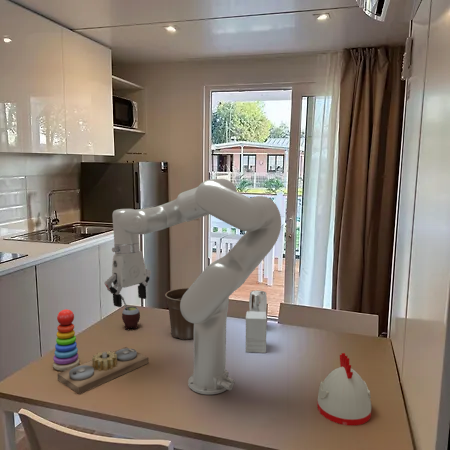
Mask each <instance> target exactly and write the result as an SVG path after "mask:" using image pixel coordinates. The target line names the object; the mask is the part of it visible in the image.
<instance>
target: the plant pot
mask: <svg viewBox="0 0 450 450" xmlns="http://www.w3.org/2000/svg"><path fill="white" fill-rule="evenodd" d="M188 289H189V287H181V288H180V287H179V288H175V289H172V290H169V291H167V292H166V293H165V295H164V296H165V298H166V303H167V307H168V312H169V321H170V322H169V324H170V334H171V336H172V337H173V338H175V339H177V338H179V339H180V340H192V339H193V340H194V323H191V322H188V321H187V320H186V319H185V318H184V317H183V315H182V313H181V310H180V302H181V299H182V297H183V295H184V294H185V292H186V291H187V290H188Z"/></svg>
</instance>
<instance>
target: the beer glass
mask: <svg viewBox="0 0 450 450" xmlns="http://www.w3.org/2000/svg"><path fill="white" fill-rule="evenodd" d="M267 298H268V297H267V292H266V291H264V290H257V289H256V290H252V291H251V290H250V291H249V300H248V301H249V303H248V305H249V306H248V307H249V311H255V312H266V313H267V303H268V300H267Z"/></svg>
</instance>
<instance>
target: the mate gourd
mask: <svg viewBox="0 0 450 450" xmlns="http://www.w3.org/2000/svg"><path fill="white" fill-rule="evenodd" d="M121 299H122V303H123V304H124V309H123V310H122V312H121V313H122V314H121V318H122V322H123V324H124V325H125V329H124V330H125V331H128V330H130V329H133V330H138V323H139V321H140V319H141V318H140V317H141V313H140V309H139V308H138V307H137V306H133V305H132V306H127V303H126V301H125V298H124V297H123V296H122V295H121Z"/></svg>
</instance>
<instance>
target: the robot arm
mask: <svg viewBox="0 0 450 450" xmlns="http://www.w3.org/2000/svg"><path fill="white" fill-rule="evenodd" d="M208 215H209V216H211V217H214V218H216V219H218V220H220V221H221V222H223V223H226V224H228V225H230V226H231V227H234V228H236V229H238V230H240V231H242V232H245V233H244V234H242V236H241V237H240V238H239V239H238V240H237V242H236V243H235V245H233V247H232V248H231V249H230V250H229V251H228V252H227V253H226V254H225V255H224V256H222V257H220V258H219V259H217V260H215V261H213V262H211V263H210V264H208V265H207V267H206V268H205V269H203V271H201V273H200V275H198V277H197V278H196V279H195V280H194V281H193V283H191V285H190V287H188V288H189V289H188V290H187V291H186V292H185V294H184V295H183V297H182V299H181V302H180V310H181V313H182V315H183V317H184V318H185V319H186V320H187V321H188V322H191V323H194V339H193V373H192V375H190V377H188V380H187V384H188V387H189V389H191V390H192V391H193V392H195V393H198V394H200V395H209V396H210V395H217V394H221V393H225V392H226V391H227V390H228V391H232V390H233V387H234V384H235V381H236V380H235V379H233V378H231V377H230V376H229V371H228V370H226V365H227V364H226V361H227V360H226V356H227V353H226V351H227V346H226V345H227V317H228V316H227V315H228V311H229V302H230V301H229V300H230V298H229V297H230V296H231V295H232V294H233V293H234V292H235V291H237V290H238V289H240V288H241V287H242V286H243V285H244V283H245V282H246V281H247V279H248V278H249V277H250V275H251V274H252V273H253V272H254V271H255V270H256V268H257V267H258V266H259V265H260V264H261V263H262V261H263V260H264V259H265V258H266V256H267V255H268V254H269V253H270V252H271V250H273V248H274V246H275V245H276V243H277V241H278V239H279V237H280V234H281V230H282V217H281V216H282V215H281V213H280V210H279V207H278V205H277V204H276V203H275V202H274V201H273V200H272V199H271V198H269V197H267V196H263V195H257V196H252V197H248V196H246V195H244V194H241V193H240V192H238V191H237V186H235V184H234V182H232V181H230V180H229V179H227V178H211V179H207V180H205V181H202V182H201V183H200V184H199V185H198V186H197V187H194V188H191V189H188V190H185V191H183V192H180V193H178V195H177V198H175V199H173V200H170V201H168V202H166V203H163V204H161V205H157V206H152V207H146V208H141V209H134V208H120V209H119V208H118V209H115V210H113V212H112V229H113V243H114V244H113V245H114V247H112V248H111V251H112V252H113V253H114V254H113V257H112V266H111V267H112V271H111V275H110V277H108V279H106V280H105V281H104V285H105V287H106V289H107V291H108V292H110V294H112V303H113V306H114V307H118V308H122V306H123V300H122V299H121V296H122V294H121V292H122V290H123V288H128V287H132V286H135V285H137V293H138V294H137V297H138V298H139V299H142V300H145V299H147V287H148V282H149V281H150V277H151V274H152V270H149V269H148V268H146V263H145V257H144V254H143V252H142V250H140V237H139V235H147V234H151V233H154V232H155V233H156V232H157V231H158V232H159V231H162V230H165V229H167V228H170V227H174V226H177V225H180V224H183V223H185V222H191V221H194V220H197V219H200V218H204V217H205V216H208Z"/></svg>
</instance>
